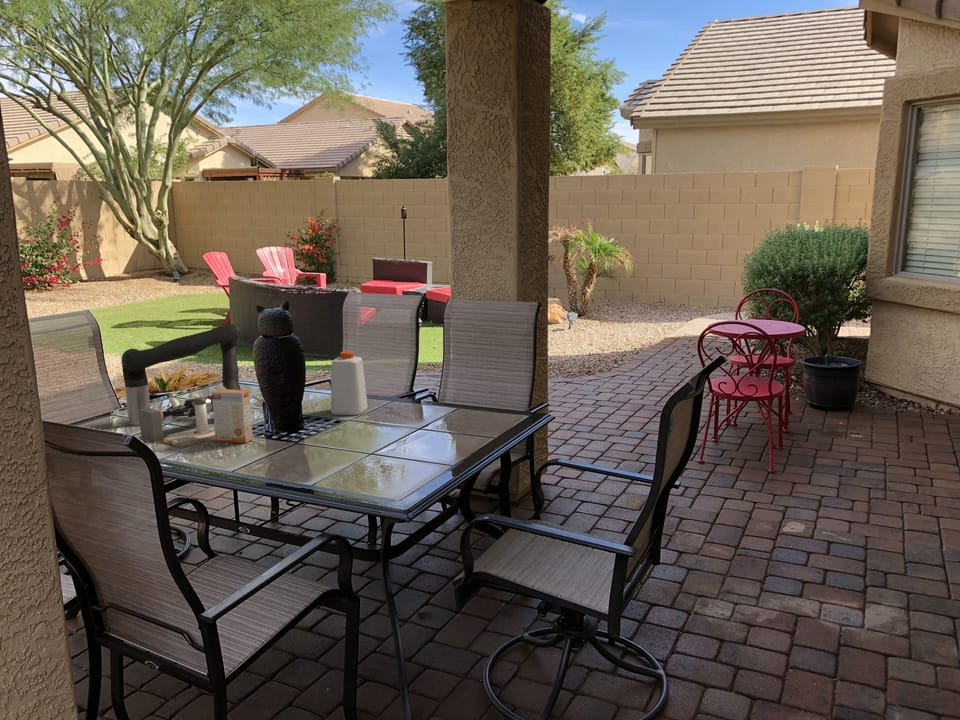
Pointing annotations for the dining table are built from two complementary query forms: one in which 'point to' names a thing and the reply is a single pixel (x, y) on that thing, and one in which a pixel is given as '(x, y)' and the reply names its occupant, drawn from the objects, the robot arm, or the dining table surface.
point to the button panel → (150, 424)
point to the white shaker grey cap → (201, 414)
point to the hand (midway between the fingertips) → (160, 415)
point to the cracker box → (232, 416)
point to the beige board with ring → (190, 438)
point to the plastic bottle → (348, 385)
